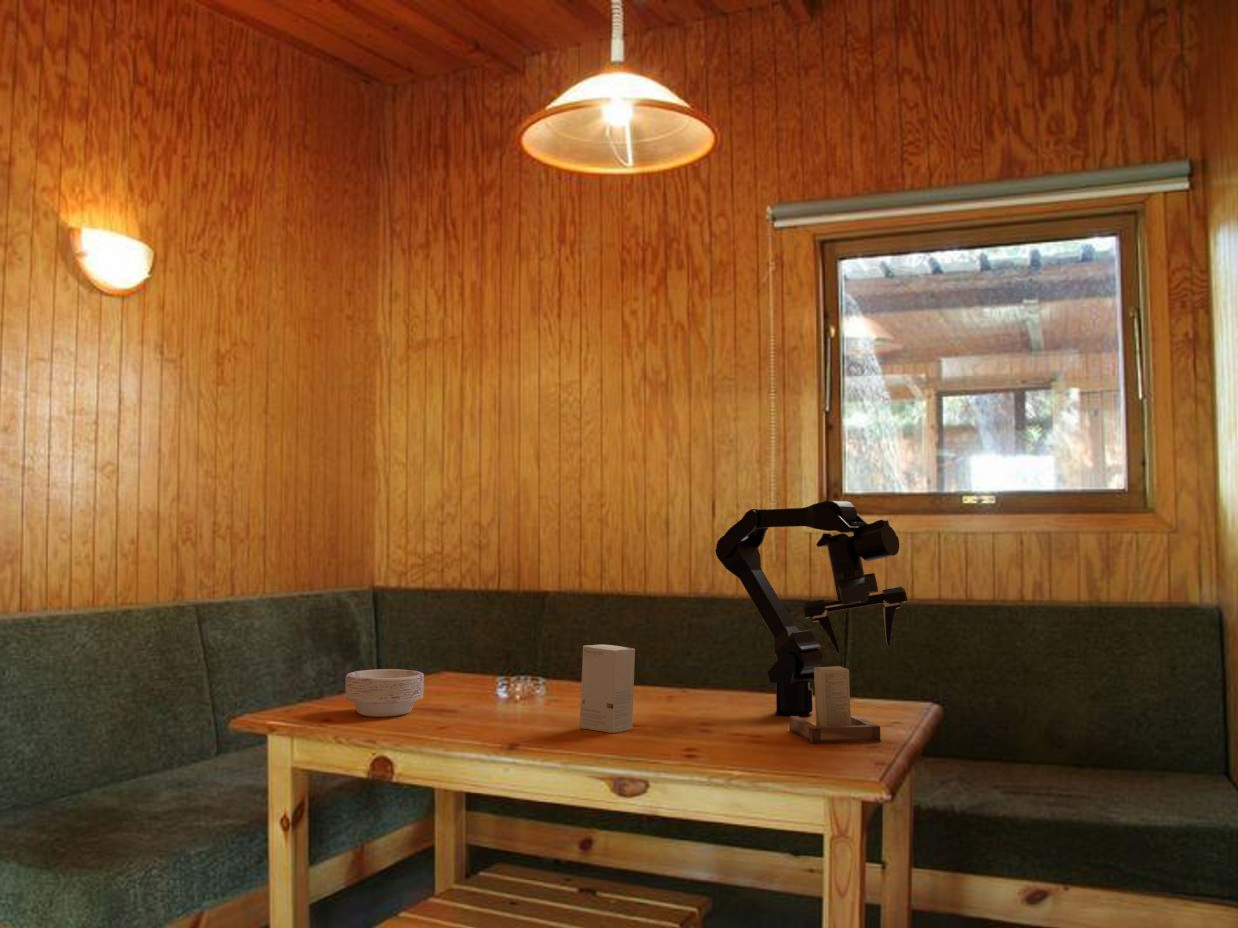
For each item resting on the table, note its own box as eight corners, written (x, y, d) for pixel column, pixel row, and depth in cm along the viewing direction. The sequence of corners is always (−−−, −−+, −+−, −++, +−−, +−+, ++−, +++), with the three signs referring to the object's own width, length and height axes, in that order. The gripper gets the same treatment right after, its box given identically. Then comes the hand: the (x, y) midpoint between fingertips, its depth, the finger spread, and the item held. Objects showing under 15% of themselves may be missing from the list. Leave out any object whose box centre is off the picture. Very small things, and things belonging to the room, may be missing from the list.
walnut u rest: (789, 730, 186) (789, 716, 186) (853, 728, 187) (853, 713, 188) (812, 743, 174) (811, 728, 174) (880, 741, 176) (880, 726, 176)
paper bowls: (439, 712, 207) (439, 671, 207) (374, 723, 195) (375, 680, 196) (393, 704, 217) (393, 665, 217) (329, 714, 205) (330, 673, 206)
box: (842, 729, 183) (841, 665, 184) (852, 733, 179) (850, 668, 180) (814, 730, 182) (813, 666, 183) (822, 735, 178) (821, 669, 179)
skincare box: (579, 728, 189) (578, 645, 190) (601, 723, 193) (600, 642, 194) (614, 734, 183) (614, 648, 184) (636, 729, 188) (635, 645, 189)
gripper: (796, 571, 189) (812, 657, 186) (900, 553, 187) (918, 640, 183) (797, 575, 200) (813, 657, 197) (895, 559, 197) (913, 641, 194)
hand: (863, 649), depth 192 cm, fingers open, 9 cm apart
